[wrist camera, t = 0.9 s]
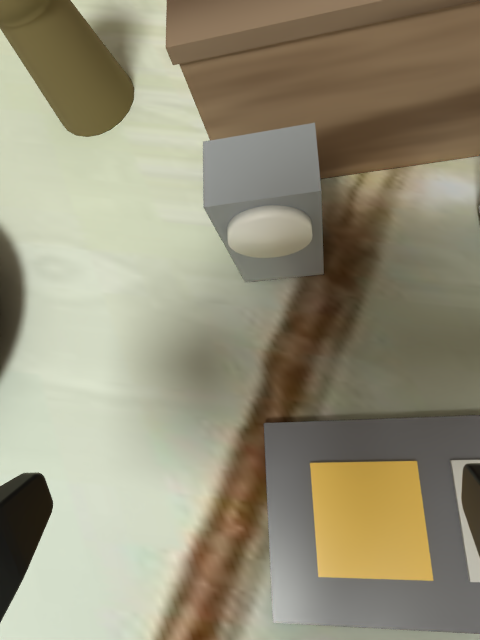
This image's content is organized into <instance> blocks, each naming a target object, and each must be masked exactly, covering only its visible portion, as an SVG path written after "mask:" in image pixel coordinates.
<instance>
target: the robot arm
mask: <svg viewBox="0 0 480 640" xmlns="http://www.w3.org/2000/svg"><path fill="white" fill-rule="evenodd" d="M461 501H462V507H463V510H464V514H465V516H466V519H467V522H468V525H469V528H470V531H471V534H472V537H473V540H474V543H475V546H476V549H477V551H478V554H479V557H480V463H467V464H466V465H464V467H463V474H462V492H461ZM52 509H53V500H52V497H51V494H50V491H49V489H48V486H47V483H46V480H45V477H44V476H43V475H42V474H41V473H23V474H21V475H19V476H17V477H16V478H14V479H12V480H10V481H9V482H7V483H5V484H3V485H2V486H0V622H1V620H2V619H3V617H4V615H5V613H6V611H7V609H8V607H9V605H10V603H11V602H12V600H13V598H14V596H15V594H16V592H17V590H18V588H19V586H20V584H21V582H22V580H23V578H24V576H25V573H26V571H27V569H28V567H29V564H30V562H31V560H32V557H33V555H34V553H35V550H36V548H37V546H38V543H39V541H40V539H41V536H42V534H43V532H44V529H45V527H46V524H47V522H48V520H49V517H50V515H51V513H52Z"/></svg>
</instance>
